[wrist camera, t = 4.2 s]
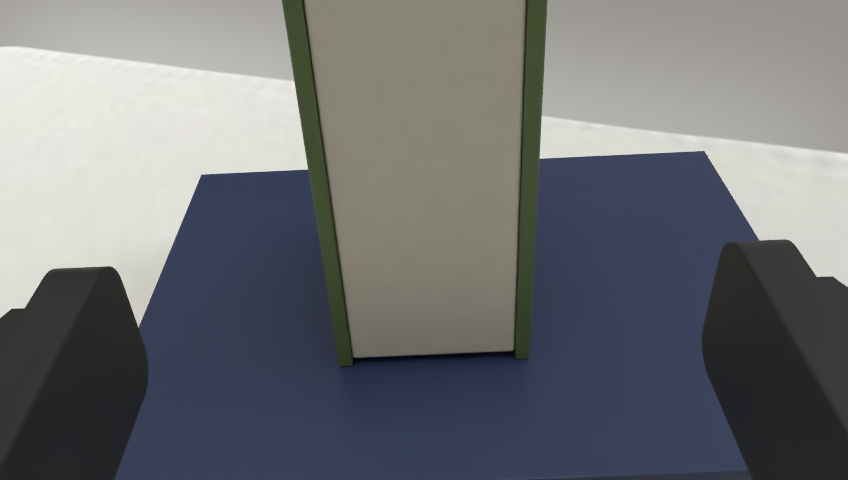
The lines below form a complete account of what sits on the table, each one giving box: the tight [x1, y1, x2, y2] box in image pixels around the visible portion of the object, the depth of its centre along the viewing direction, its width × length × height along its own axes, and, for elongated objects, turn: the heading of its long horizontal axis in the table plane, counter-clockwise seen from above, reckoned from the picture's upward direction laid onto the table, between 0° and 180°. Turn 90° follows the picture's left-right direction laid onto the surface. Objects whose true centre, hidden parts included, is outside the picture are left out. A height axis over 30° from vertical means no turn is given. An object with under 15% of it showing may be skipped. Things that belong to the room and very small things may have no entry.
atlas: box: [114, 151, 759, 480], centre depth 26 cm, size 20×15×3 cm
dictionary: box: [282, 0, 547, 367], centre depth 21 cm, size 5×7×12 cm
